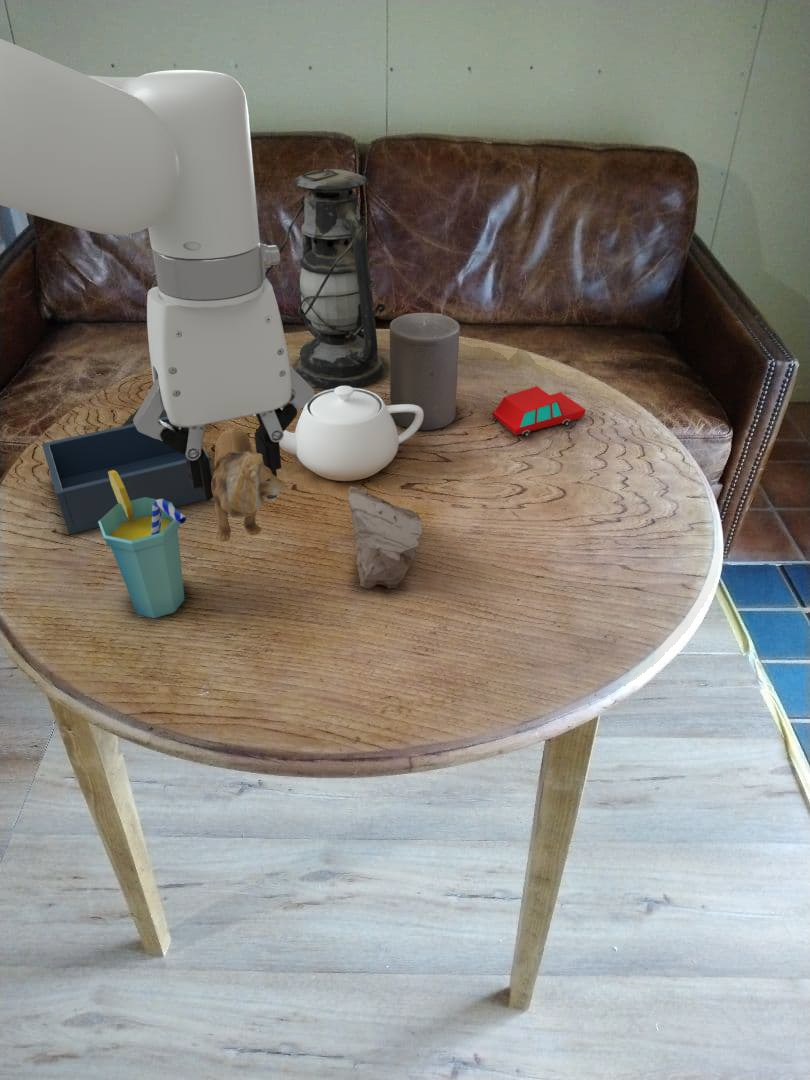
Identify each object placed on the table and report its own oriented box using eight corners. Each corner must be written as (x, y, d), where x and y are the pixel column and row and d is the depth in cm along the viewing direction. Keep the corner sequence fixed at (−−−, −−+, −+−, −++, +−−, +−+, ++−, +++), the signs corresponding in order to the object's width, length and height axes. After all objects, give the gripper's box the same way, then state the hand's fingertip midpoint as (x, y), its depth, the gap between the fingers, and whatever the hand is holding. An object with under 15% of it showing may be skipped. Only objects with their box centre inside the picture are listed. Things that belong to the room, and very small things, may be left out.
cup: (236, 614, 82) (216, 493, 73) (174, 656, 77) (144, 531, 68) (154, 560, 89) (126, 443, 80) (93, 595, 84) (56, 475, 75)
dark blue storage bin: (69, 535, 93) (55, 493, 89) (53, 482, 102) (41, 443, 98) (216, 496, 99) (209, 456, 96) (189, 450, 108) (182, 412, 105)
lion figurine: (287, 557, 66) (289, 464, 61) (223, 567, 64) (219, 471, 59) (247, 469, 77) (246, 383, 72) (191, 475, 75) (186, 387, 70)
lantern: (412, 376, 127) (413, 174, 108) (314, 413, 117) (297, 197, 99) (341, 340, 138) (332, 152, 120) (247, 371, 128) (221, 171, 110)
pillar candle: (381, 425, 114) (378, 324, 105) (402, 395, 121) (402, 299, 112) (446, 435, 111) (449, 333, 102) (464, 405, 119) (468, 307, 110)
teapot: (412, 430, 113) (413, 359, 106) (434, 481, 102) (436, 406, 95) (255, 445, 109) (246, 373, 103) (261, 500, 98) (251, 423, 92)
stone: (425, 612, 82) (461, 524, 83) (359, 583, 78) (399, 490, 79) (354, 586, 95) (386, 509, 96) (294, 560, 90) (329, 479, 91)
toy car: (585, 421, 115) (589, 395, 112) (515, 439, 111) (517, 413, 108) (558, 402, 120) (562, 377, 117) (490, 419, 115) (492, 394, 113)
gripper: (301, 242, 63) (313, 444, 74) (78, 270, 57) (126, 486, 68) (338, 270, 58) (345, 482, 68) (96, 304, 51) (146, 532, 62)
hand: (236, 482), depth 68 cm, fingers closed on lion figurine, 4 cm apart
